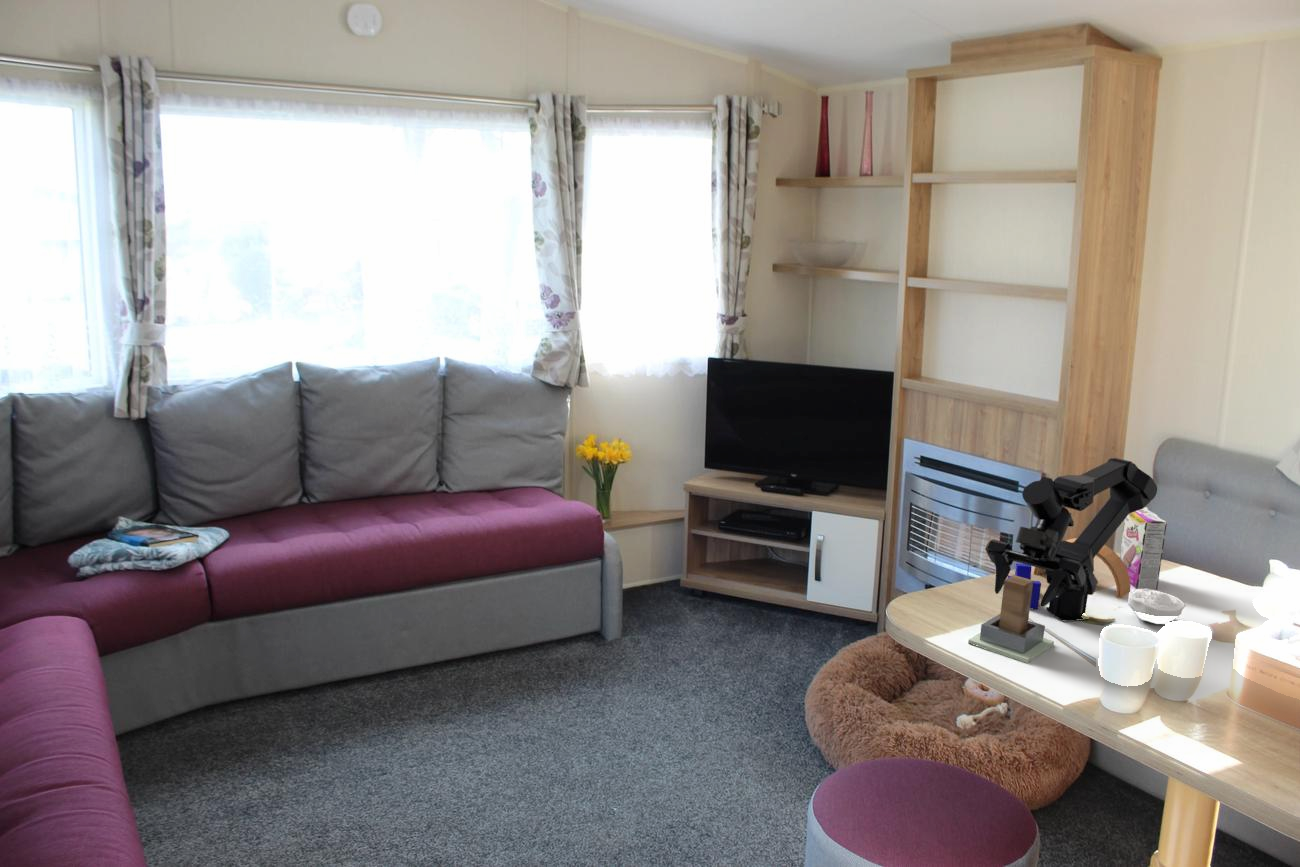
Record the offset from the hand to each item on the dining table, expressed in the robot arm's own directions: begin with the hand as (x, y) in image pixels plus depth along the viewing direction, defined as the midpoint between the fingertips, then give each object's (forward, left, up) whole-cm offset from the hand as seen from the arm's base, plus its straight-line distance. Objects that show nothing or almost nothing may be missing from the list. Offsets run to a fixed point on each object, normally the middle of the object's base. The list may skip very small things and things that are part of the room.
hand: (1018, 599), depth 213 cm
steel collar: (+1, 0, -9) cm, 9 cm away
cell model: (-36, -7, -9) cm, 38 cm away
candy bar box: (-47, -28, -9) cm, 56 cm away
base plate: (+1, 0, -9) cm, 9 cm away
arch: (-34, -29, -10) cm, 45 cm away
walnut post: (+1, 0, -8) cm, 8 cm away
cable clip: (-15, -22, -10) cm, 28 cm away
